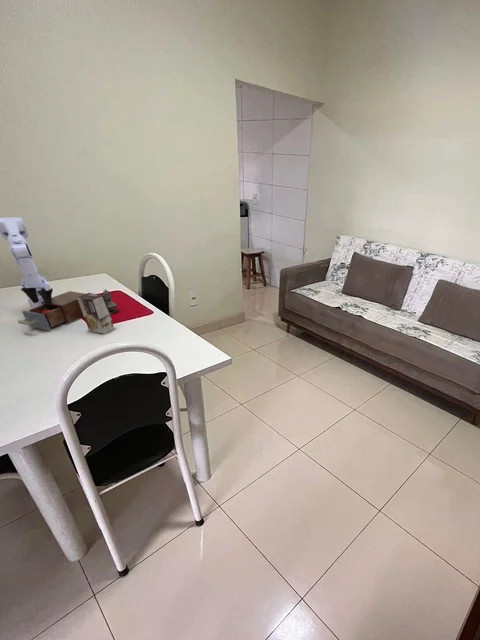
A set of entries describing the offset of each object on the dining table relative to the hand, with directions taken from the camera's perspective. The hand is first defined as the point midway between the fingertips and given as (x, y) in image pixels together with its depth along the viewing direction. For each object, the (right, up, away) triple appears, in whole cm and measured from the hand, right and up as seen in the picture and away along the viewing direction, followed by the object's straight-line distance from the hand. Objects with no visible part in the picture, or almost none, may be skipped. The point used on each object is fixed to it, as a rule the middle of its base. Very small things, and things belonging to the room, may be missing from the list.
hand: (42, 303), depth 146 cm
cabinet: (+3, -3, +15) cm, 15 cm away
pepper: (0, -7, +5) cm, 8 cm away
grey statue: (+19, 0, +20) cm, 28 cm away
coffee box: (+25, -12, +3) cm, 27 cm away
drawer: (-1, -9, +4) cm, 10 cm away
